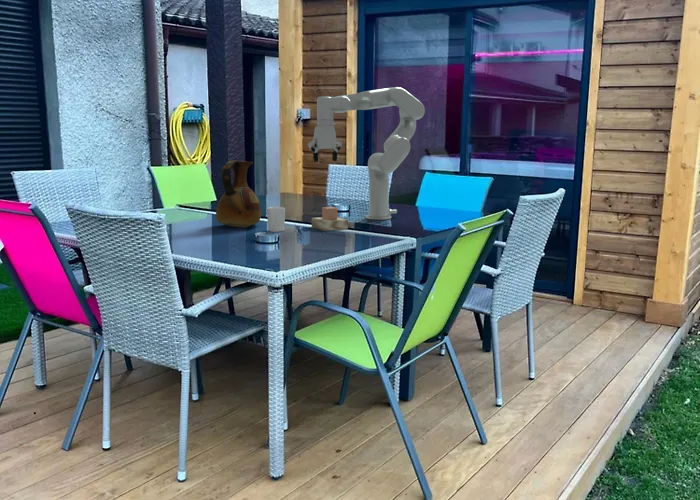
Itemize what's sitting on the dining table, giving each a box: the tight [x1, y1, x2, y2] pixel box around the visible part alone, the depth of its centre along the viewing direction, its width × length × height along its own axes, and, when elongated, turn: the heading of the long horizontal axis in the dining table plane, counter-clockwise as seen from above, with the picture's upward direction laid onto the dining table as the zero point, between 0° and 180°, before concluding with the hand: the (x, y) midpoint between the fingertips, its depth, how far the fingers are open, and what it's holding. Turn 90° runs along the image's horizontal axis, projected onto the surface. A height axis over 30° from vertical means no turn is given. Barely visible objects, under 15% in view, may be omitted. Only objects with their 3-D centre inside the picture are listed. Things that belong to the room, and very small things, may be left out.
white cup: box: [266, 206, 286, 233], centre depth 293 cm, size 8×8×10 cm
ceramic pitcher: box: [215, 159, 262, 228], centre depth 300 cm, size 20×20×30 cm
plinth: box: [311, 216, 349, 232], centre depth 301 cm, size 12×12×4 cm
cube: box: [321, 206, 338, 220], centre depth 300 cm, size 5×5×5 cm
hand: (325, 161), depth 315 cm, fingers open, 9 cm apart
